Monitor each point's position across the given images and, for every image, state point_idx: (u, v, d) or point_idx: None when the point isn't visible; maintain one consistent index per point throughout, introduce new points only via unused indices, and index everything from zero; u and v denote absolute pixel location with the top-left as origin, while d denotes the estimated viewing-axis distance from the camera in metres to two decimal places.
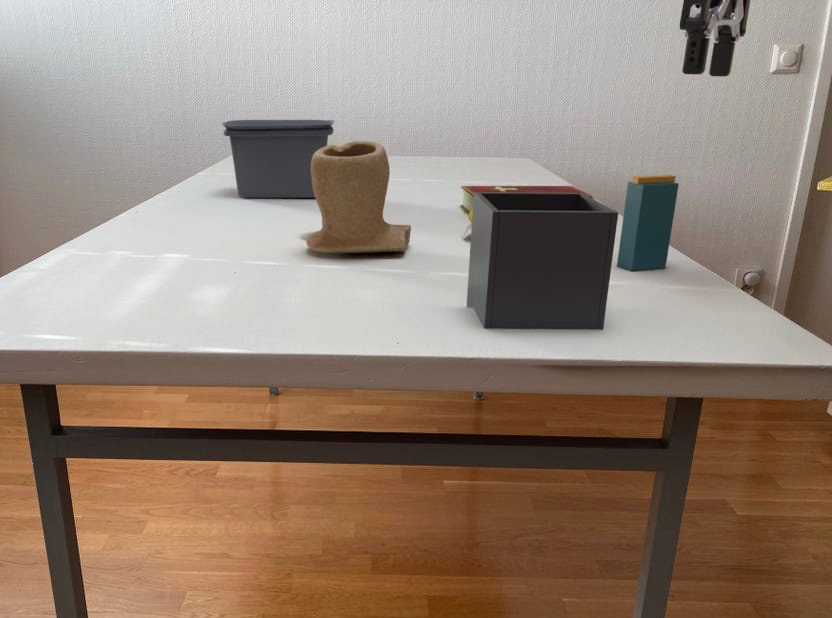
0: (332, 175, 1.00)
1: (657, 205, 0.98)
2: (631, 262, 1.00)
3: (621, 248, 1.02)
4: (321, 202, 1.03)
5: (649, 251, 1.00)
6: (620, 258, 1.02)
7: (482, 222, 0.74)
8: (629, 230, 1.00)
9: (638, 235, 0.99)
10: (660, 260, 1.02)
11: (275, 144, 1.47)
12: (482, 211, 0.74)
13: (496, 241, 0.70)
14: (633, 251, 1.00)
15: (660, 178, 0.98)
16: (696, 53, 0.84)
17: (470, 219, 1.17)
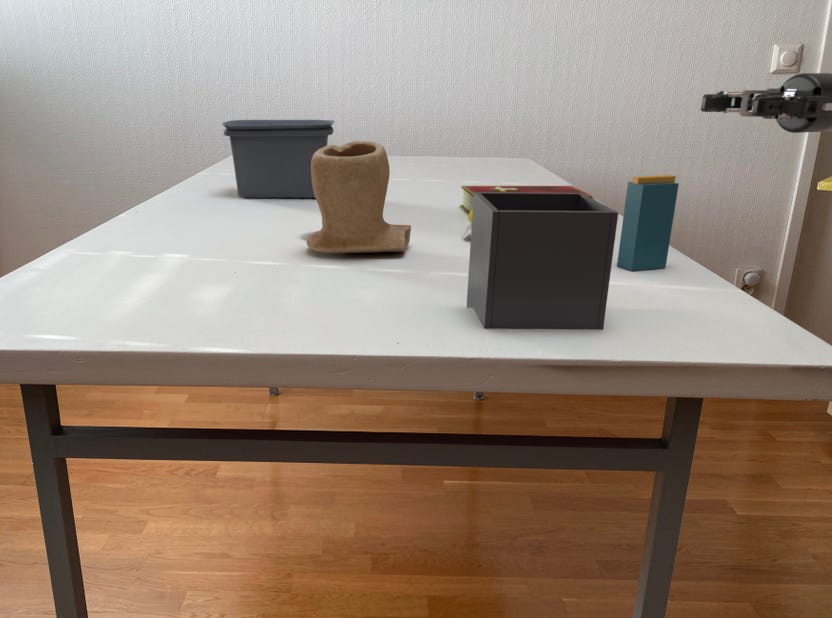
0: (332, 175, 1.00)
1: (657, 205, 0.98)
2: (631, 262, 1.00)
3: (621, 248, 1.02)
4: (321, 202, 1.03)
5: (649, 251, 1.00)
6: (620, 258, 1.02)
7: (482, 222, 0.74)
8: (629, 230, 1.00)
9: (638, 235, 0.99)
10: (660, 260, 1.02)
11: (275, 144, 1.47)
12: (482, 211, 0.74)
13: (496, 241, 0.70)
14: (633, 251, 1.00)
15: (660, 178, 0.98)
16: None
17: (470, 219, 1.17)
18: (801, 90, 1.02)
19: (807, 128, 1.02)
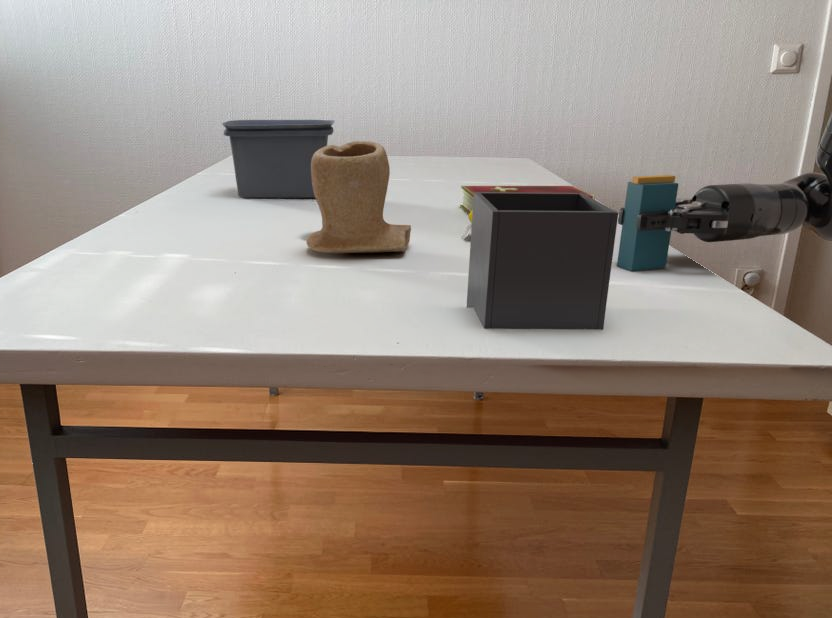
0: (332, 175, 1.00)
1: (657, 205, 0.98)
2: (631, 262, 1.00)
3: (621, 248, 1.02)
4: (321, 202, 1.03)
5: (649, 251, 1.00)
6: (620, 258, 1.02)
7: (482, 222, 0.74)
8: (629, 230, 1.00)
9: (638, 235, 0.99)
10: (660, 260, 1.02)
11: (275, 144, 1.47)
12: (482, 211, 0.74)
13: (496, 241, 0.70)
14: (633, 251, 1.00)
15: (660, 178, 0.98)
16: None
17: (470, 219, 1.17)
18: (711, 202, 1.02)
19: (717, 239, 1.03)
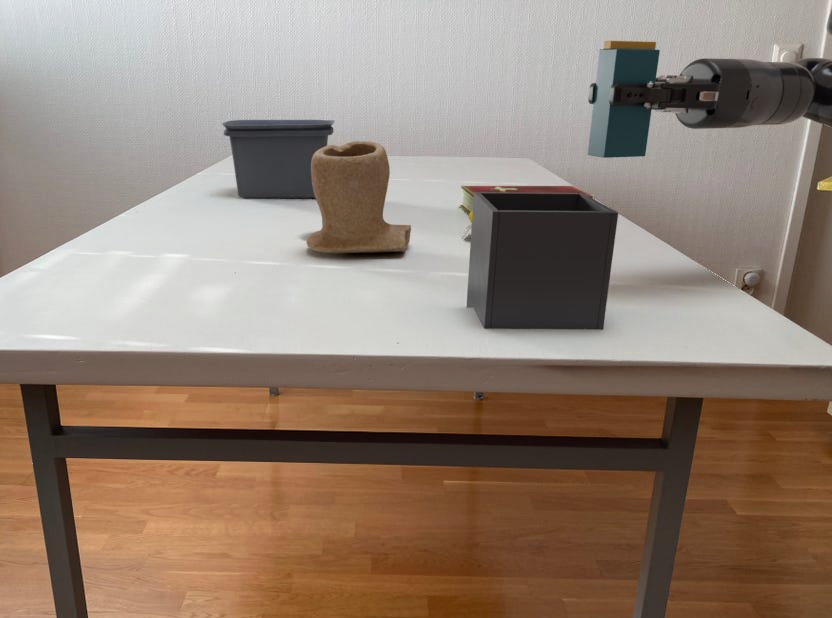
0: (332, 175, 1.00)
1: (635, 76, 0.82)
2: (604, 147, 0.84)
3: (592, 132, 0.86)
4: (321, 202, 1.03)
5: (625, 134, 0.84)
6: (591, 145, 0.86)
7: (482, 222, 0.74)
8: (601, 108, 0.84)
9: (612, 113, 0.83)
10: (639, 146, 0.85)
11: (275, 144, 1.47)
12: (482, 211, 0.74)
13: (496, 241, 0.70)
14: (606, 133, 0.84)
15: (637, 43, 0.82)
16: None
17: (470, 219, 1.17)
18: (699, 79, 0.86)
19: (707, 122, 0.87)
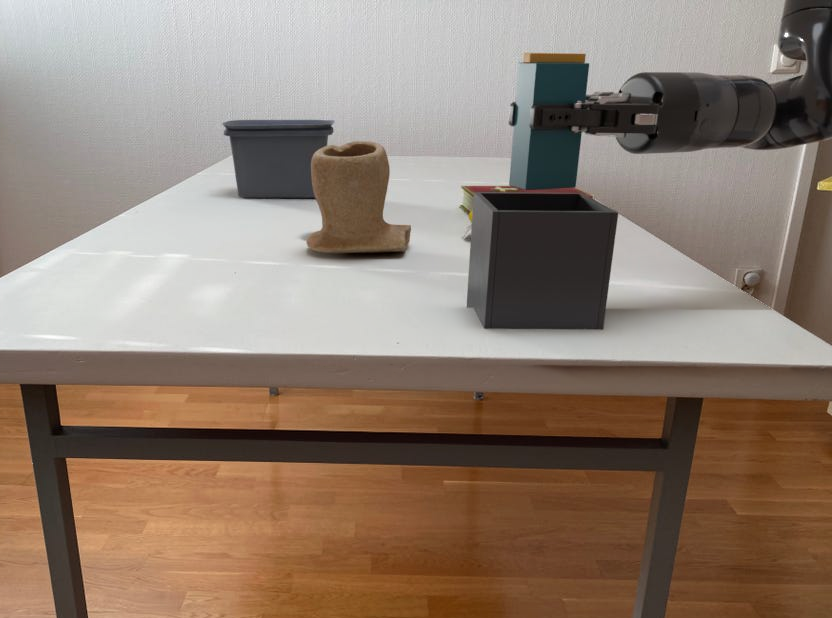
0: (332, 175, 1.00)
1: (560, 95, 0.70)
2: (525, 178, 0.71)
3: (513, 159, 0.73)
4: (321, 202, 1.03)
5: (550, 162, 0.72)
6: (512, 174, 0.73)
7: (482, 222, 0.74)
8: (522, 132, 0.71)
9: (533, 138, 0.70)
10: (568, 176, 0.73)
11: (275, 144, 1.47)
12: (482, 211, 0.74)
13: (496, 241, 0.70)
14: (527, 161, 0.71)
15: (563, 56, 0.69)
16: None
17: (470, 219, 1.17)
18: (640, 96, 0.74)
19: (648, 148, 0.74)
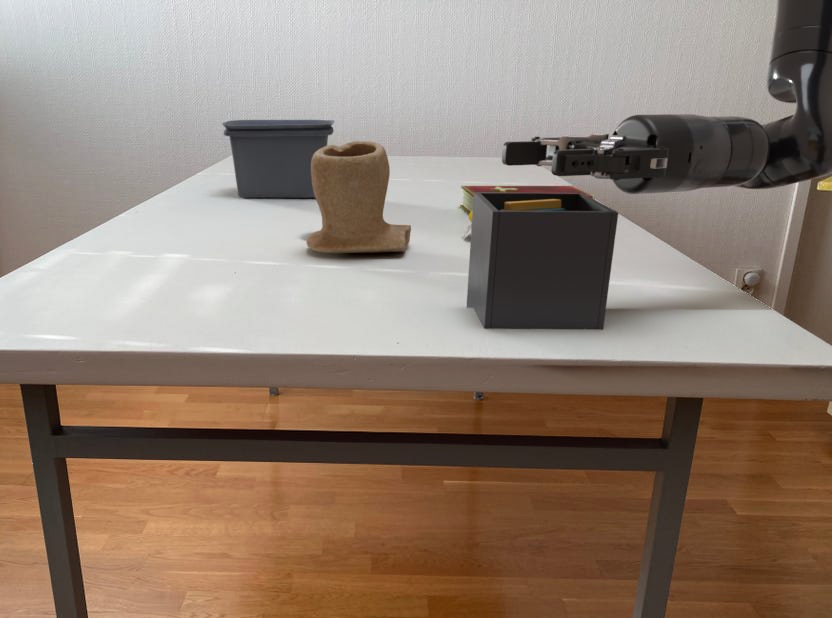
0: (332, 175, 1.00)
1: None
2: None
3: None
4: (321, 202, 1.03)
5: None
6: None
7: (482, 222, 0.74)
8: None
9: None
10: None
11: (275, 144, 1.47)
12: (482, 211, 0.74)
13: (496, 241, 0.70)
14: None
15: (541, 203, 0.75)
16: None
17: (471, 219, 1.17)
18: (635, 138, 0.75)
19: (643, 188, 0.75)
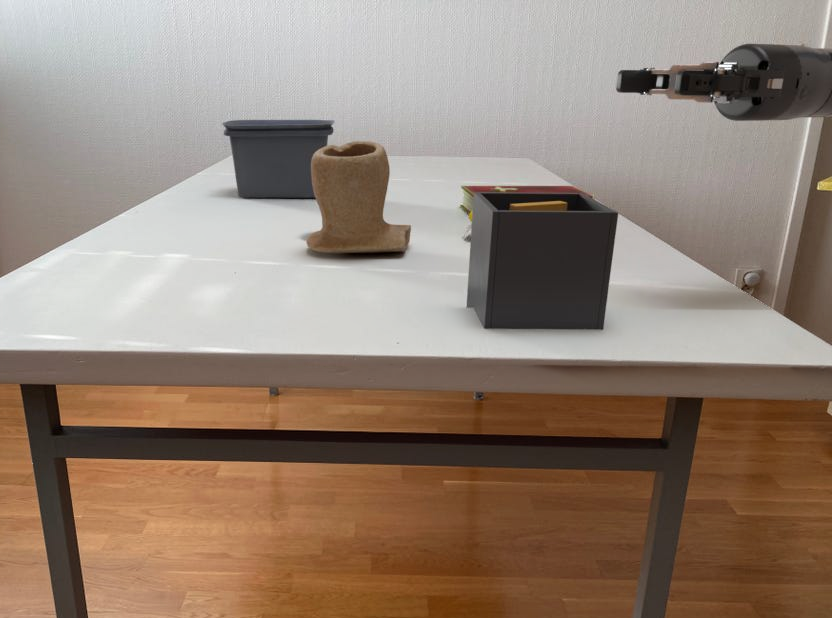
0: (332, 175, 1.00)
1: None
2: None
3: None
4: (321, 202, 1.03)
5: None
6: None
7: (482, 222, 0.74)
8: None
9: None
10: None
11: (275, 144, 1.47)
12: (482, 211, 0.74)
13: (496, 241, 0.70)
14: None
15: (546, 206, 0.74)
16: None
17: (471, 219, 1.17)
18: (744, 66, 0.79)
19: (752, 114, 0.79)
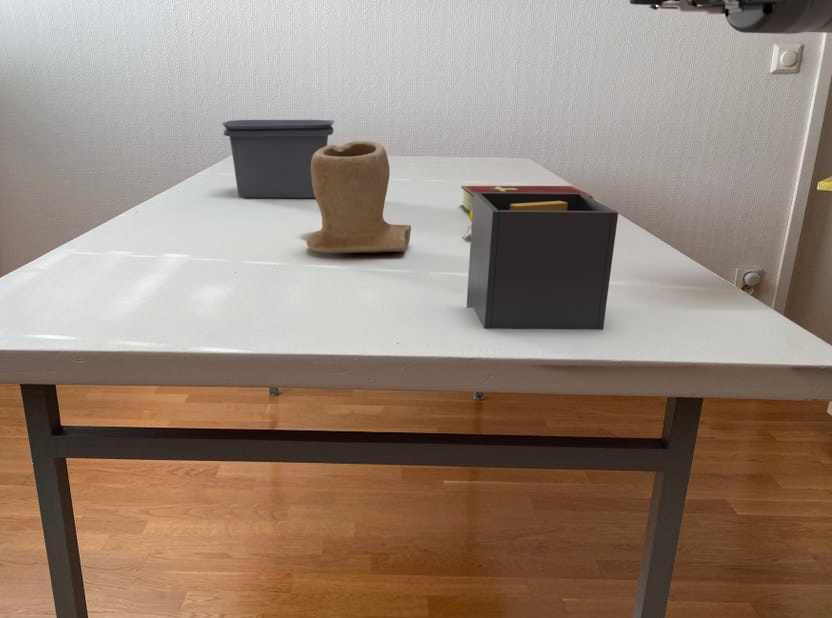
0: (332, 175, 1.00)
1: None
2: None
3: None
4: (321, 202, 1.03)
5: None
6: None
7: (482, 222, 0.74)
8: None
9: None
10: None
11: (275, 144, 1.47)
12: (482, 211, 0.74)
13: (496, 241, 0.70)
14: None
15: (546, 206, 0.74)
16: None
17: (471, 219, 1.17)
18: None
19: (763, 23, 0.81)
